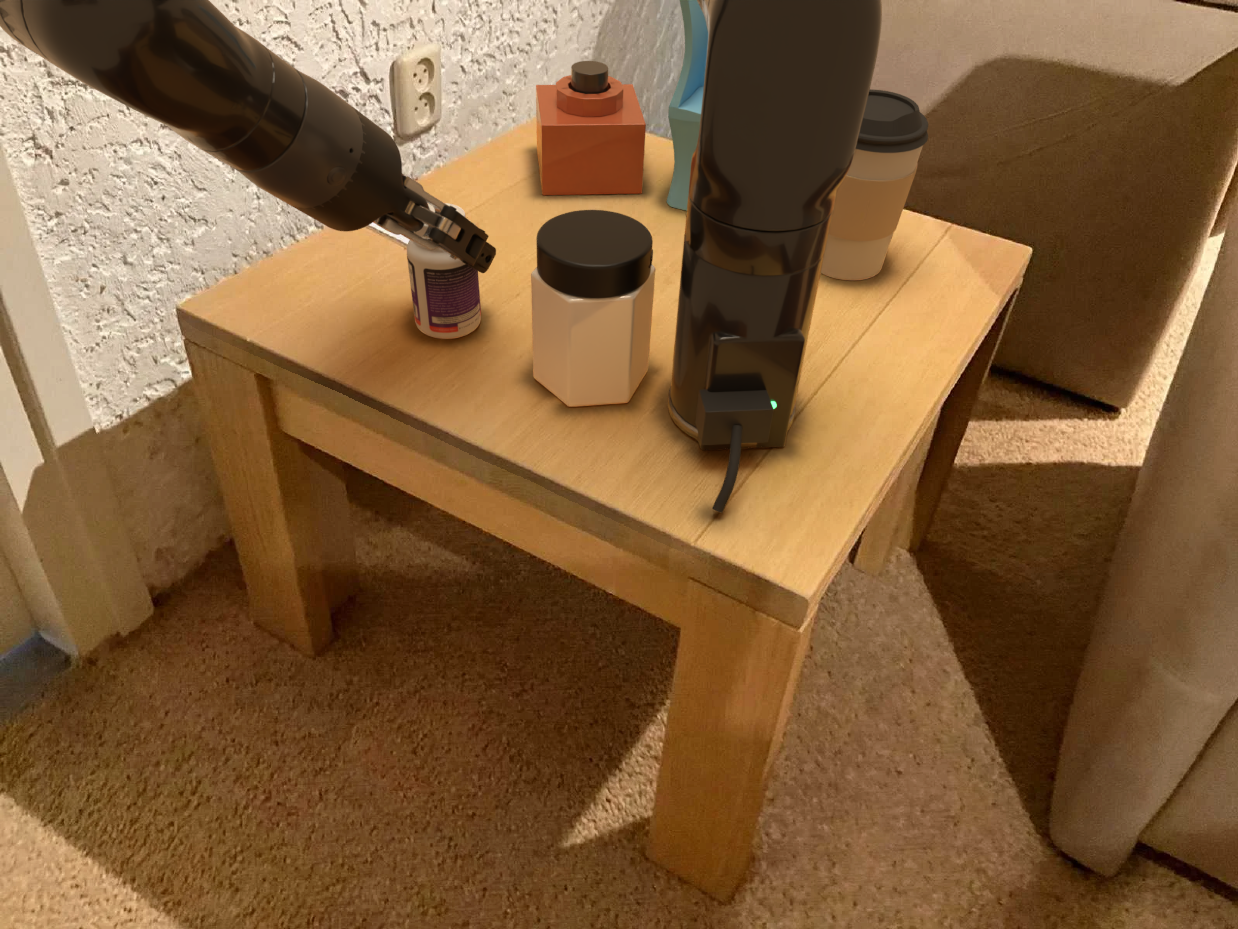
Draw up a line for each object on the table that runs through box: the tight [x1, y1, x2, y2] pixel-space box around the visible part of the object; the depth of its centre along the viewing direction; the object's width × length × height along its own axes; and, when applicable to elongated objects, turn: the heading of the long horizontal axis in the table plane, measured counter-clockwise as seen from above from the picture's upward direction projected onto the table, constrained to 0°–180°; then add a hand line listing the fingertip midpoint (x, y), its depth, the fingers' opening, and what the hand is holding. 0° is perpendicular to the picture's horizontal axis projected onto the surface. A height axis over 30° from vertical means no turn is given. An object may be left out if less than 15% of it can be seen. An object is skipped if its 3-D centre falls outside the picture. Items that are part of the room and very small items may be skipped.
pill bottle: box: [406, 202, 482, 340], centre depth 79 cm, size 5×5×10 cm
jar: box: [530, 209, 656, 408], centre depth 73 cm, size 9×8×12 cm
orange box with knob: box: [535, 74, 647, 196], centre depth 100 cm, size 10×10×9 cm
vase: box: [666, 0, 708, 212], centre depth 94 cm, size 8×8×20 cm
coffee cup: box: [821, 88, 929, 281], centre depth 87 cm, size 9×9×15 cm
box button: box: [570, 60, 609, 94], centre depth 97 cm, size 4×4×2 cm
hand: (458, 246), depth 79 cm, fingers open, 5 cm apart
